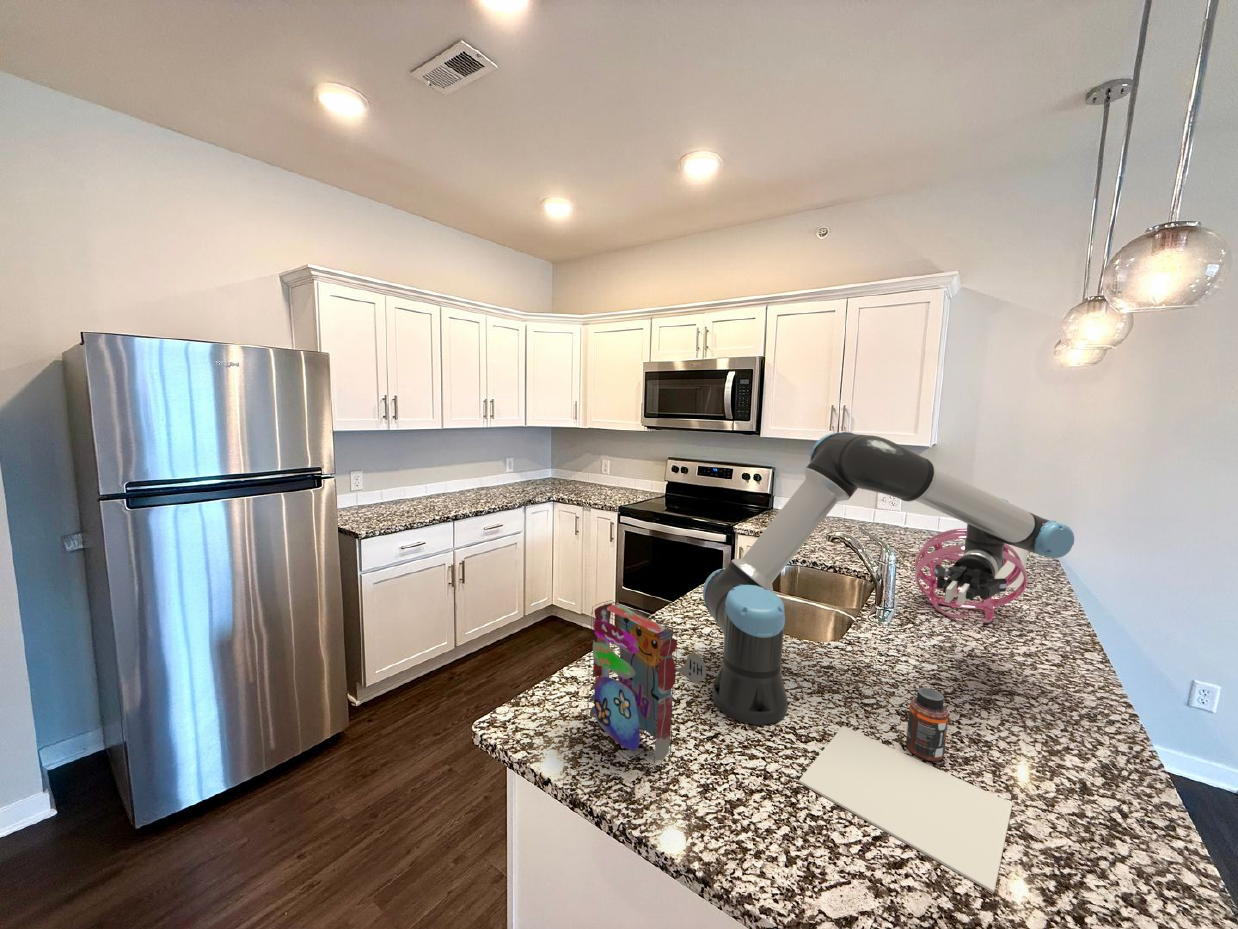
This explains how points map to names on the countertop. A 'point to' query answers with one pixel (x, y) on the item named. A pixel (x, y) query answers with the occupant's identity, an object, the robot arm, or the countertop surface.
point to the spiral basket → (984, 604)
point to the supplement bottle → (927, 725)
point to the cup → (1010, 566)
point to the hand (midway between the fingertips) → (954, 597)
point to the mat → (914, 803)
